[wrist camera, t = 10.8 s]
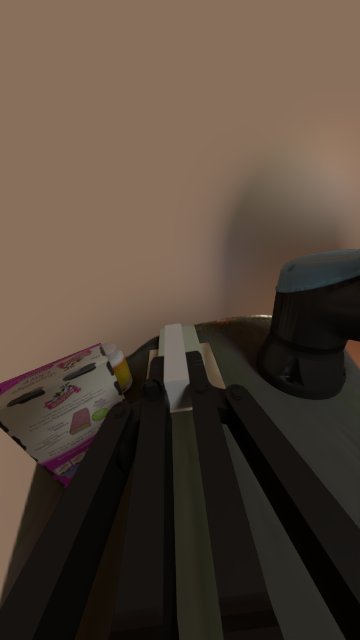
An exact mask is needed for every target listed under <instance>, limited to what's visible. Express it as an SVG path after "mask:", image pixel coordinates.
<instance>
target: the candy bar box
mask: <svg viewBox="0 0 360 640" xmlns="http://www.w3.org/2000/svg"><path fill="white" fill-rule="evenodd" d="M121 401H126V400H125V397H124V395H123V393H122V390H121V388H120V385H119V383H118V381H117V378H116V376H115V373H114V371H113V369H112V366H111V364H110V362H109V359H108V357H107V355H106V353H105V351H104V349H103V347H102V345H101V343H99V344H97V345H94V346H92V347H89V348H87V349H84V350H82V351H79V352H77V353H74V354H72V355H69V356H67V357H64V358H62V359H59V360H57V361H54V362H52V363H50V364H47V365H45V366H42V367H40V368H37V369H35V370H32V371H30V372H27V373H25V374H22V375H20V376H18V377H15V378H12V379H10V380H7V381H5V382H2V383H0V428H2V429H3V430H4V431H5V432H6V433H7V434H8V435H9V436H10V437H11V438H12V439H13V440H14V441H16V443H17V444H18V445H20V446H21V447H22V448H23V449H24V450H25V451H26V452H27V453H28V454H29V455H30V456H31V457H32V458H33V459H34V460H35V461H36V462H37V463H38V464H40V465H41V466H42V467H43V468H44V469H45V470H46V471H47V472H48V473H49V474H50V475H51V476H52V477H53V478H54V479H55V480H56V481H57V482H58V483H59V484H60V485H61V486H62V487H63V488H67V487H68V485H69V483H70V481H71V479H72V478H73V476H74V474H75V472H76V470H77V468H78V467H79V465H80V463H81V461H82V459H83V457H84V456H85V454H86V452H87V450H88V448H89V446H90V445H91V443H92V441H93V439H94V437H95V435H96V434H97V432H98V430H99V428H100V426H101V424H102V423H103V421H104V419H105V417H106V415H107V413H108V412H109V410H110V409H111V407H112V406H113V405H115V404H116V403H118V402H121Z"/></svg>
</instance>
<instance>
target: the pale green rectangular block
mask: <svg viewBox="0 0 360 640" xmlns="http://www.w3.org/2000/svg"><path fill="white" fill-rule="evenodd" d="M181 327H182V334H183V341H184V347H185V352H190V351H197V350H198V351H199V352H200V353H201V355H202V359H203V362H204V366H205V361H204V357H203V354H202V351H201V347H200V344H199V340H198V337H197V334H196V330H195V327H194V324H193V325H186V326H181ZM164 347H165V328H162V329H160V338H159V353H158V357H159V356H164Z"/></svg>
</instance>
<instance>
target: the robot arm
mask: <svg viewBox="0 0 360 640" xmlns="http://www.w3.org/2000/svg"><path fill="white" fill-rule="evenodd" d="M348 340H354V341H359V342H360V249H359V250H356V249H351V250H350V249H349V250H338V251H329V252H322V253H316V254H311V255H306V256H302V257H298V258H295V259H293V260H291V261H289V262H287V263H286V264H285V265H284V266H283V267H282V269H281V272H280V276H279V280H278V284H277V286H276V296H275V302H274V309H273V315H272V321H271V327H270V333H269V334H268V336H267V338H266V340H265V341H264V343H263V345H262V346H261V347H260V349H259V350H258V354H257V360H256V364H257V368H258V370H259V372H260V374H261V375H262V376H263V377H264V378H265V379H266V380H267V381H268V382H269V383H270V384H272V385H273V386H274V387H276V388H278V389H279V390H281V391H283V392H285V393H288V394H290V395H293V396H296V397H300V398H305V399H312V400H322V399H328V398H331V397H334V396H336V395H337V394H338V393H339V392H340V391H341V389H342V387H343V385H344V383H345V380H346V371H345V368H344V348H345V346H346V343H347V341H348ZM140 389H141V392H142V395H143V397H142V398H141V399H139V400H137V401H135V402H133V403H131V404H129V403H128V402H126V401H121V402H118V403H116V404H115V405H113V406H112V407H111V409H110V410H109V412H108V413H107V415H106V417H105V419H104V421H103V423H102V424H101V426H100V428H99V430H98V432H97V434H96V435H95V437H94V439H93V441H92V443H91V445H90V446H89V448H88V450H87V452H86V454H85V456H84V457H83V459H82V461H81V463H80V465H79V467H78V468H77V470H76V472H75V474H74V476H73V478H72V479H71V481H70V483H69V485H68V487H67V489H66V490H65V492H64V494H63V496H62V498H61V500H60V501H59V503H58V505H57V507H56V509H55V511H54V512H53V514H52V516H51V518H50V520H49V522H48V523H47V525H46V527H45V529H44V531H43V533H42V534H41V536H40V538H39V540H38V542H37V544H36V545H35V547H34V549H33V551H32V553H31V555H30V556H29V558H28V560H27V562H26V564H25V566H24V567H23V569H22V571H21V573H20V575H19V577H18V578H17V580H16V582H15V584H14V586H13V587H12V589H11V591H10V593H9V595H8V597H7V598H6V600H5V602H4V604H3V606H2V608H1V609H0V640H74V639H75V636H76V633H77V630H78V627H79V623H80V620H81V617H82V614H83V611H84V608H85V605H86V602H87V599H88V596H89V593H90V590H91V587H92V584H93V581H94V578H95V575H96V572H97V569H98V566H99V563H100V560H101V557H102V554H103V551H104V548H105V545H106V542H107V539H108V536H109V533H110V530H111V527H112V524H113V521H114V518H115V515H116V512H117V509H118V506H119V503H120V500H121V497H122V494H123V491H124V488H125V485H126V482H127V479H128V476H129V473H130V469H131V466H132V463H133V460H134V457H135V463H134V471H133V478H132V485H131V493H130V500H129V508H128V515H127V523H126V530H125V537H124V545H123V552H122V560H121V567H120V574H119V582H118V589H117V597H116V604H115V612H114V618H113V624H112V628H111V632H110V635H109V638H108V640H179V631H178V623H177V601H176V564H175V528H174V491H173V454H172V419H171V415H170V408H171V410H176V409H183V408H190V407H192V409H193V417H194V424H195V431H196V438H197V446H198V453H199V460H200V468H201V475H202V482H203V489H204V497H205V504H206V511H207V519H208V526H209V533H210V540H211V548H212V555H213V562H214V569H215V577H216V584H217V591H218V599H219V606H220V613H221V621H222V629H223V636H224V640H284V638H283V635H282V632H281V629H280V626H279V624H278V621H277V618H276V616H275V613H274V611H273V608H272V605H271V602H270V598H269V595H268V592H267V588H266V584H265V581H264V577H263V573H262V570H261V566H260V562H259V559H258V555H257V551H256V548H255V544H254V540H253V537H252V533H251V530H250V526H249V522H248V519H247V515H246V511H245V508H244V504H243V500H242V497H241V493H240V489H239V486H238V482H237V479H236V475H235V471H234V468H233V464H232V460H231V457H230V453H229V449H228V446H227V442H226V438H225V435H224V431H223V427H222V424H221V423H223V424H227V426H228V428H229V430H230V432H231V433H232V435H233V437H234V439H235V441H236V442H237V444H238V446H239V448H240V450H241V451H242V453H243V455H244V457H245V459H246V460H247V462H248V464H249V466H250V468H251V469H252V471H253V473H254V475H255V477H256V478H257V480H258V482H259V484H260V486H261V487H262V489H263V491H264V493H265V495H266V496H267V498H268V500H269V502H270V504H271V505H272V507H273V509H274V511H275V513H276V515H277V516H278V518H279V520H280V522H281V524H282V525H283V527H284V529H285V531H286V533H287V534H288V536H289V538H290V540H291V542H292V543H293V545H294V547H295V549H296V551H297V552H298V554H299V556H300V558H301V560H302V561H303V563H304V565H305V567H306V569H307V570H308V572H309V574H310V576H311V578H312V579H313V581H314V583H315V585H316V587H317V588H318V590H319V592H320V594H321V596H322V597H323V599H324V601H325V603H326V605H327V606H328V608H329V610H330V612H331V614H332V615H333V617H334V619H335V621H336V623H337V624H338V626H339V628H340V630H341V632H342V633H343V635H344V637H345V639H346V640H360V529H359V528H358V526H357V525H356V524H355V523H354V521H353V520H352V519H351V518H350V517H349V515H348V514H347V513H346V512H345V510H344V509H343V508H342V507H341V505H340V504H339V503H338V502H337V500H336V499H335V498H334V497H333V496H332V494H331V493H330V492H329V491H328V489H327V488H326V487H325V486H324V484H323V483H322V482H321V481H320V479H319V478H318V477H317V476H316V475H315V473H314V472H313V471H312V470H311V468H310V467H309V466H308V465H307V463H306V462H305V461H304V460H303V458H302V457H301V456H300V455H299V454H298V452H297V451H296V450H295V449H294V447H293V446H292V445H291V444H290V442H289V441H288V440H287V439H286V437H285V436H284V435H283V434H282V432H281V431H280V430H279V429H278V428H277V426H276V425H275V424H274V423H273V421H272V420H271V419H270V418H269V416H268V415H267V414H266V413H265V411H264V410H263V409H262V408H261V407H260V405H259V404H258V403H257V402H256V400H255V399H254V398H253V397H252V395H251V394H250V393H249V392H248V390H247V389H245V388H244V387H243V386H241V385H236V384H234V385H230V386H228V387H227V388H226V389H223V388H218V387H215V386H213V385H212V384H211V383H210V382H209V380H208V377H207V373H206V370H205V366H204V362H203V359H202V355H201V353H200V352H199V351H198V350H197V351H190V352H185V347H184V341H183V334H182V327H181V323H178V324H172V325H165V347H164V356H159V357H153V359H152V361H151V362H150V370H149V378H148V379H147V380H145V381H144V382H143V383H142V384H141V387H140ZM135 454H136V456H135Z"/></svg>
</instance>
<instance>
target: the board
mask: <svg viewBox="0 0 360 640" xmlns="http://www.w3.org/2000/svg"><path fill="white" fill-rule="evenodd" d="M200 347H201V351H202V354H203V357H204V361H205V370H206V373H207V377H208V380H209V382H210V383H211V384H212V385H213V386H215V387H218V388H223V389H226V388H225V385H224V382H223V380H222V377H221V374H220V372H219V369H218V367H217V364H216V361H215V359H214V356H213V353H212V351H211V348H210V345H209V343H202V344H200ZM158 353H159V349H157V350H150V356H149V363H148V370H147V378H146V380H147V379H148V378H149V370H150V362H151V361H152V359H153V357H158ZM186 410H193V409H192V407H190V408H183V409H176V410H171V408H170V413H172V412H179V411H186Z"/></svg>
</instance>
